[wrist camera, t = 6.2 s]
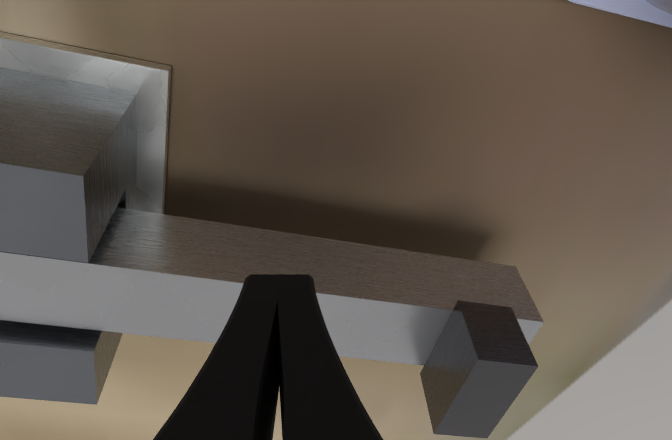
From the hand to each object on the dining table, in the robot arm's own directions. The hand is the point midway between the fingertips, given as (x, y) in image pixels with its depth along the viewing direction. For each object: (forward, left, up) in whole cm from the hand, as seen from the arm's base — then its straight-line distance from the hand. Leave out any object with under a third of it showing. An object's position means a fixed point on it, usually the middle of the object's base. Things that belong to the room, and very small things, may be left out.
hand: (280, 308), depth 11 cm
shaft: (-1, +5, -7) cm, 9 cm away
